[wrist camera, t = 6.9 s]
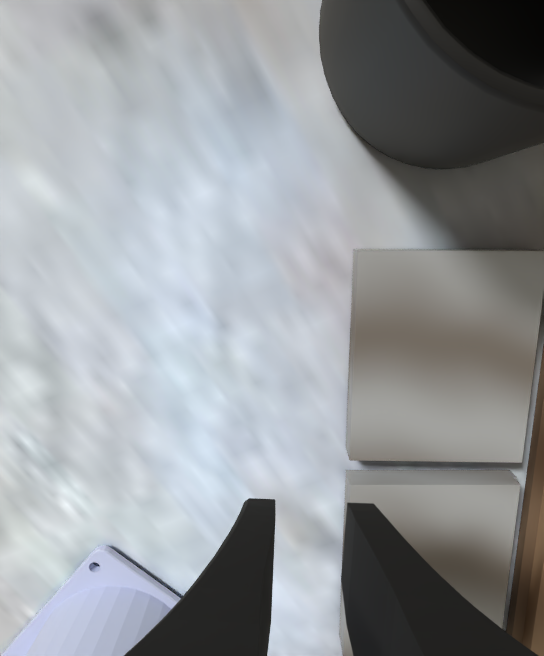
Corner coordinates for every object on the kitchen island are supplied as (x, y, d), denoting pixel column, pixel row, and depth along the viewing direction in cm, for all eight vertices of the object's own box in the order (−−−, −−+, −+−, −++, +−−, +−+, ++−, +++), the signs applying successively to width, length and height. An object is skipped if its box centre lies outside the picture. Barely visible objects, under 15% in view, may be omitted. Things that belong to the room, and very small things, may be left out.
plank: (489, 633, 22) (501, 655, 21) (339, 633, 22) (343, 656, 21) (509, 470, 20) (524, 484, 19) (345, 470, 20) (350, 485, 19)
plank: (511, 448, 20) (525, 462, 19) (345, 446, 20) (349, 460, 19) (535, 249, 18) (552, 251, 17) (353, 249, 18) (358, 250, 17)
